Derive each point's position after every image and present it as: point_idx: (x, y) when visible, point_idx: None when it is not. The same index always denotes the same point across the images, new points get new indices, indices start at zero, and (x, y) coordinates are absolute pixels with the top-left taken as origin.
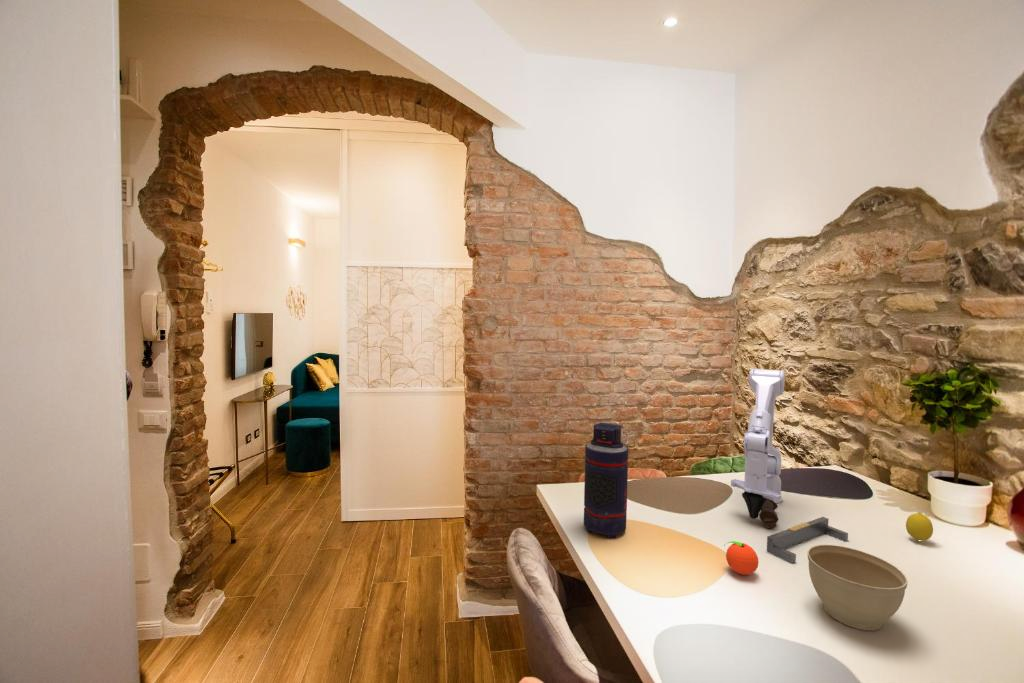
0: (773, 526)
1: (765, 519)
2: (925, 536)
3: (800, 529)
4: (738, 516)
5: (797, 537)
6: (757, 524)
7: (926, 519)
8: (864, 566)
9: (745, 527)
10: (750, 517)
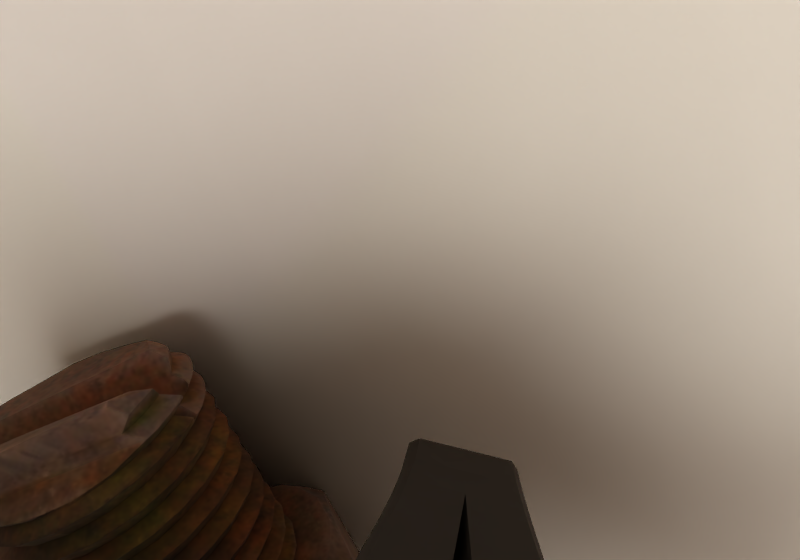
0: (28, 391)
1: (105, 448)
2: None
3: None
4: (772, 482)
5: None
6: (365, 391)
7: None
8: None
9: (473, 62)
10: (494, 459)
